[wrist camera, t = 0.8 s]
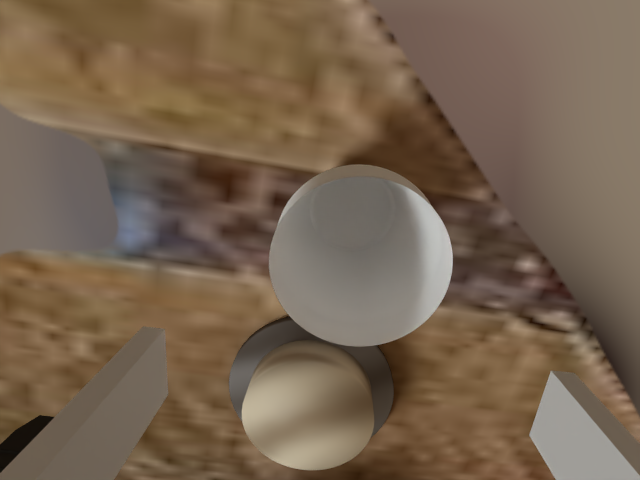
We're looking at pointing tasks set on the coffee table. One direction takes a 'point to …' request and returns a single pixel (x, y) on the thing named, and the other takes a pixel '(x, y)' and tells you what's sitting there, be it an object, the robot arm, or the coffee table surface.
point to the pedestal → (309, 395)
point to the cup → (360, 256)
